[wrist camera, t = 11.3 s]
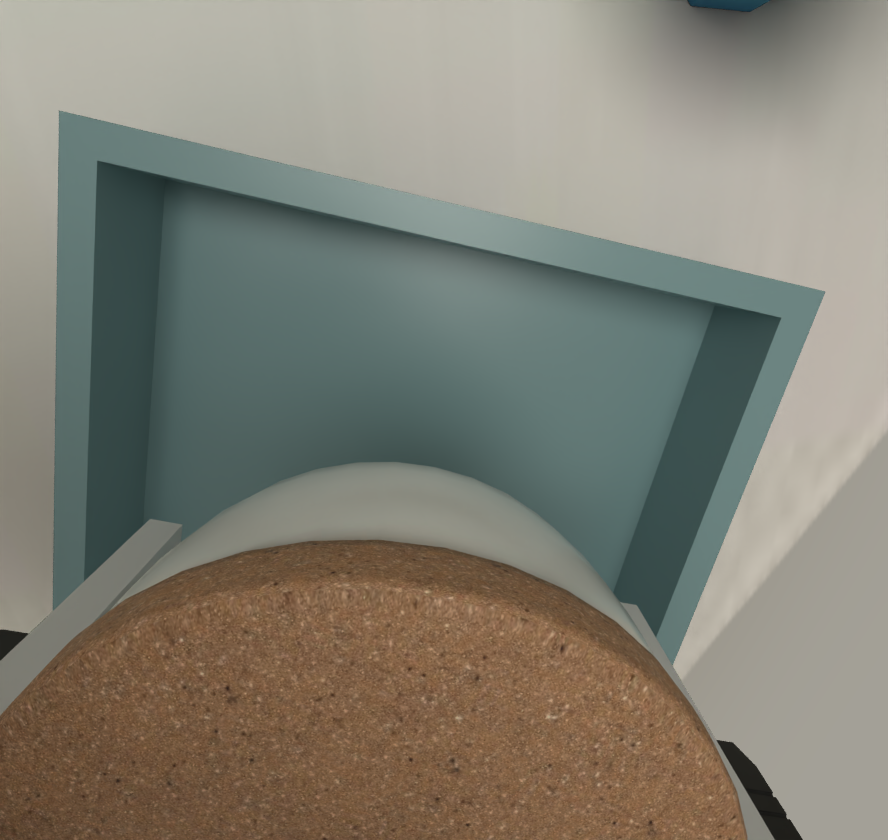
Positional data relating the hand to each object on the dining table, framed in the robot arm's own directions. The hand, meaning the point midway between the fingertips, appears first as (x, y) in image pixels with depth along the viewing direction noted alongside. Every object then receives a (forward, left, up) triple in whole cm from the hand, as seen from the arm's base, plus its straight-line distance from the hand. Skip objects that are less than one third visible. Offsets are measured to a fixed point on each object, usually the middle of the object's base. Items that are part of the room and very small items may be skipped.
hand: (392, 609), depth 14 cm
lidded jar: (0, 0, -1) cm, 1 cm away
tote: (0, 0, -10) cm, 10 cm away
